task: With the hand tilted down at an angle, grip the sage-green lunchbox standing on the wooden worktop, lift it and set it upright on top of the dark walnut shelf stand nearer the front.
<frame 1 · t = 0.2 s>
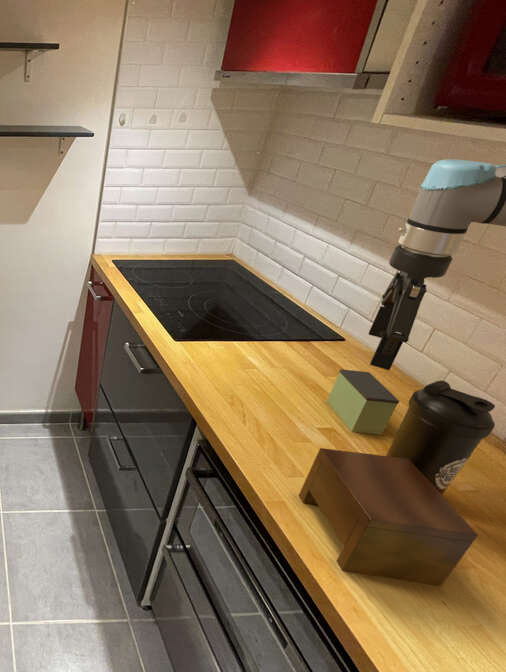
hand: (378, 350, 87), 23 cm above the worktop, tool pointing down, fingers open, 13 cm apart
lunchbox: (352, 417, 103), on the worktop
water bottle: (404, 490, 85), on the worktop
walnut shelf: (362, 536, 76), on the worktop
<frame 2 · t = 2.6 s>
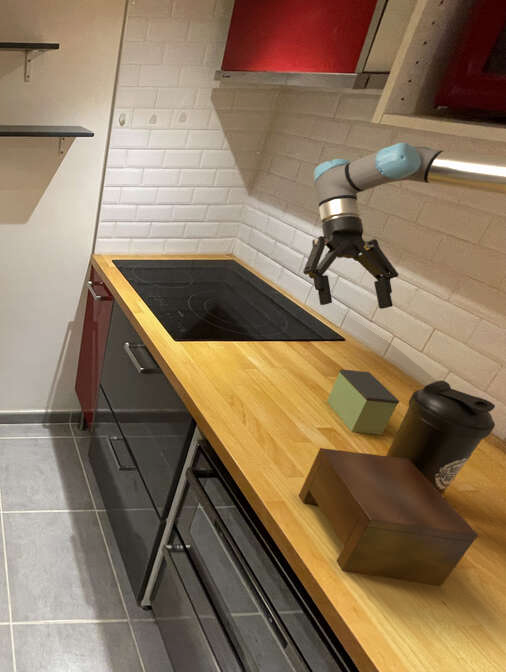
hand: (356, 305, 103), 24 cm above the worktop, tool tilted 40°, fingers open, 13 cm apart
nothing on the worktop moved.
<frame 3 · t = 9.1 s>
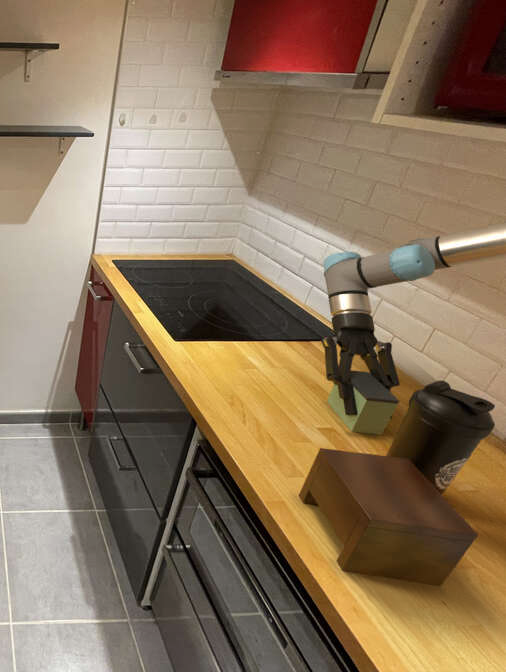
hand: (368, 416, 98), 4 cm above the worktop, tool tilted 45°, fingers closed on lunchbox, 6 cm apart
lunchbox: (352, 417, 103), on the worktop, touching gripper
everything else where it was.
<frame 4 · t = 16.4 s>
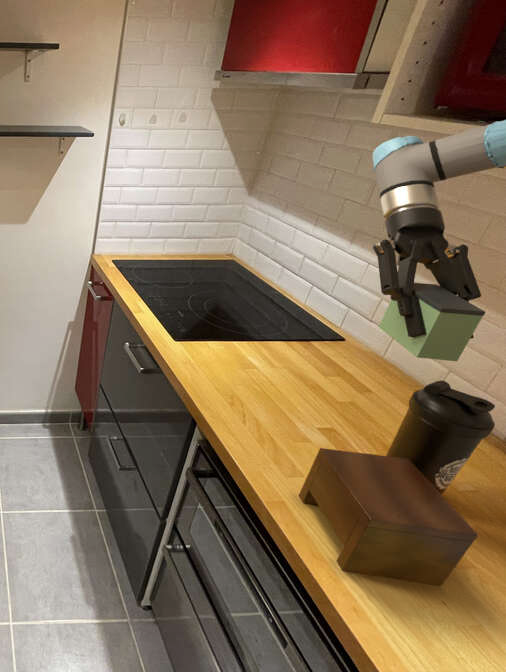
hand: (440, 337, 74), 32 cm above the worktop, tool tilted 45°, fingers closed on lunchbox, 6 cm apart
lunchbox: (415, 343, 79), point 29 cm above the worktop, touching gripper
everything else where it was.
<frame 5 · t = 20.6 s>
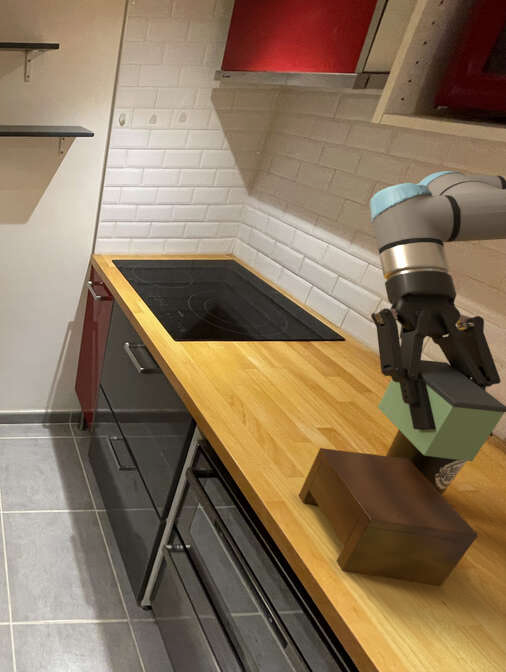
hand: (452, 432, 62), 27 cm above the worktop, tool tilted 45°, fingers closed on lunchbox, 6 cm apart
lunchbox: (421, 432, 67), point 23 cm above the worktop, touching gripper
everything else where it was.
when the fingers open (16 cm above the worktop, at t = 24.0 s): lunchbox stays where it is, resting on walnut shelf.
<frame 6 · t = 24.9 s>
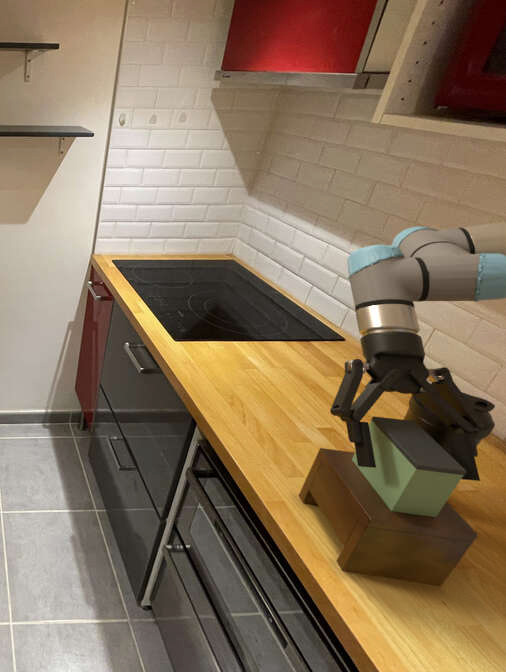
hand: (417, 473, 67), 18 cm above the worktop, tool tilted 45°, fingers open, 13 cm apart
lunchbox: (390, 486, 71), point 12 cm above the worktop, touching walnut shelf
everything else where it was.
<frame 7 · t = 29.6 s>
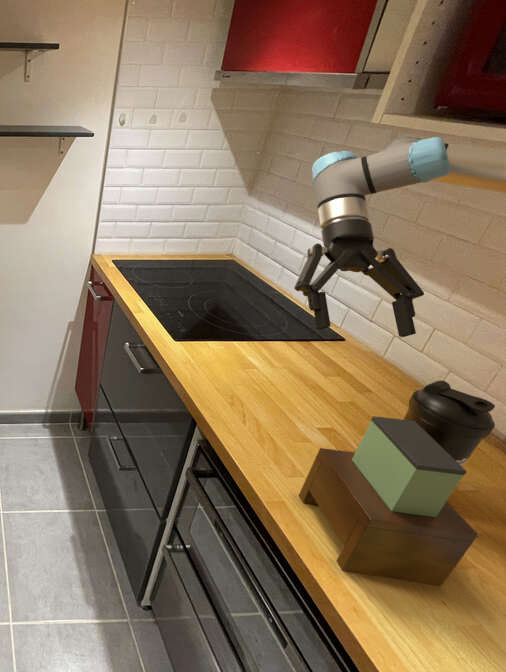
hand: (365, 331, 80), 30 cm above the worktop, tool tilted 45°, fingers open, 13 cm apart
nothing on the worktop moved.
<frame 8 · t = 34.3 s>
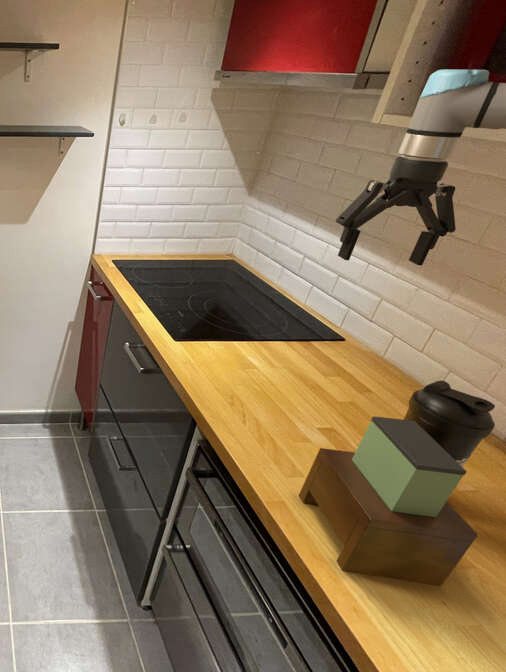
hand: (378, 260, 94), 37 cm above the worktop, tool pointing down, fingers open, 13 cm apart
nothing on the worktop moved.
at the end: lunchbox inside the target area on the walnut shelf (0.1 cm from its centre), point 12.0 cm above the walnut shelf's base; lunchbox tilted 0°; the gripper is holding nothing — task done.
